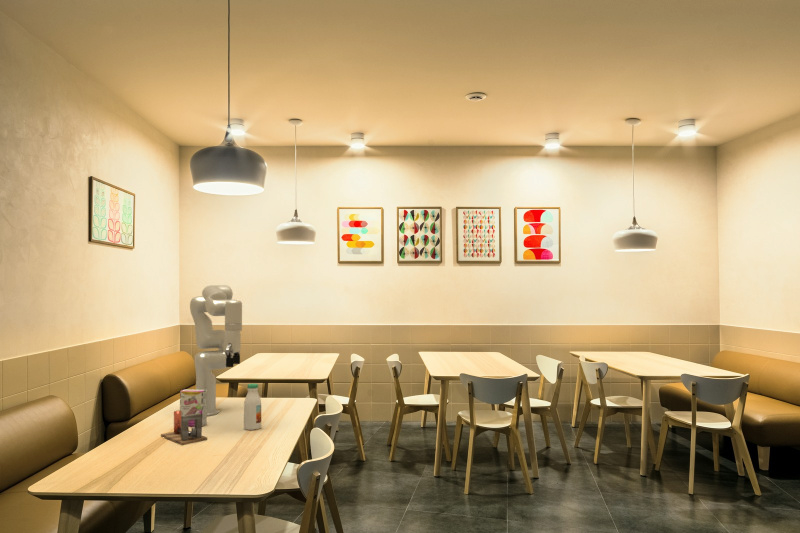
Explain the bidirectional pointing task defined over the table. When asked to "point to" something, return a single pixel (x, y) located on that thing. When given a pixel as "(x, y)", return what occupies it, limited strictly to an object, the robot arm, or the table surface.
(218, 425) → the table surface
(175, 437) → the eye stand
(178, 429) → the lever
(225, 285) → the robot arm
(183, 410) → the candy bar box
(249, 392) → the milk bottle
